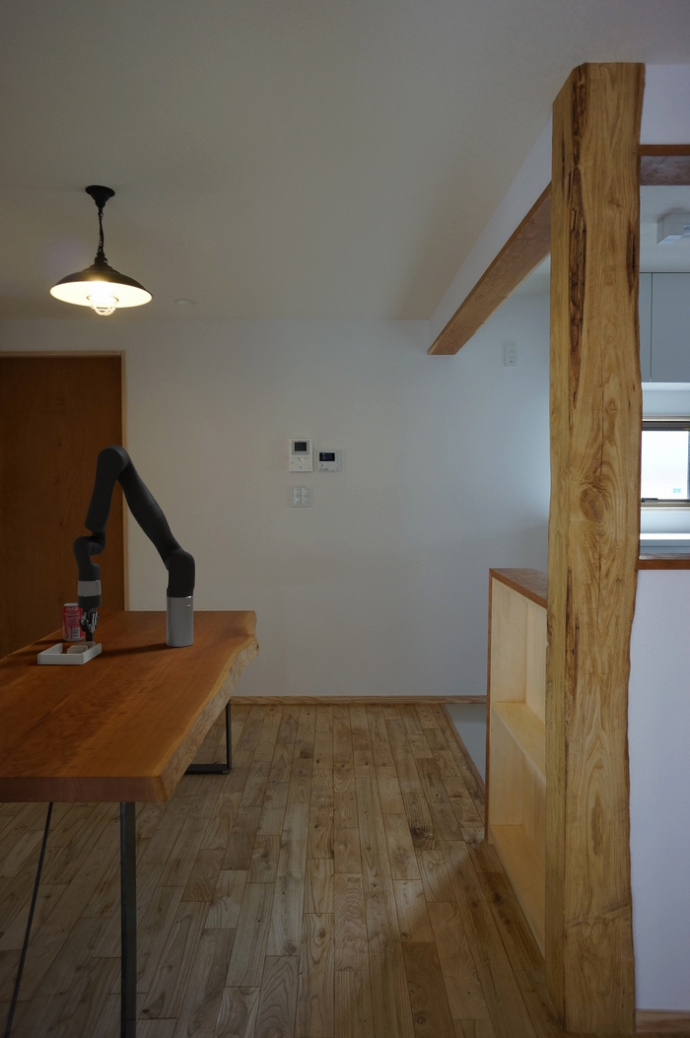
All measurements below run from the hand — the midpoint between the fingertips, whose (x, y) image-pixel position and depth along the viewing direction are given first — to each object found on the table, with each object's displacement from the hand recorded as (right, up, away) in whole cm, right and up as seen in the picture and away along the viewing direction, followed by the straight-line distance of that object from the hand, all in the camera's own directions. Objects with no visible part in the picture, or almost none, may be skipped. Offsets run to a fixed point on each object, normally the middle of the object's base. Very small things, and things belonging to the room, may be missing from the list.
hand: (89, 643), depth 231 cm
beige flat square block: (0, -2, -4) cm, 4 cm away
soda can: (-10, -1, +11) cm, 15 cm away
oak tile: (0, -2, -11) cm, 11 cm away
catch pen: (0, -2, -16) cm, 16 cm away
